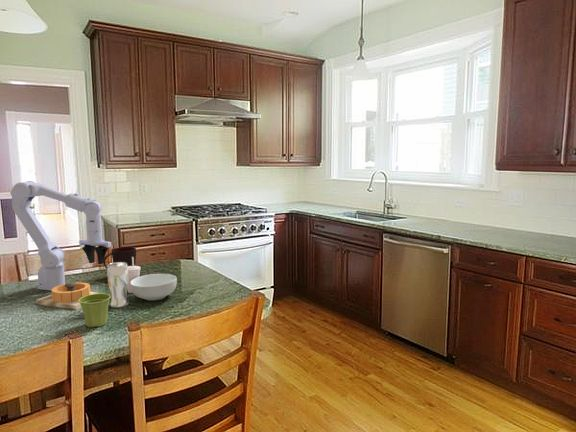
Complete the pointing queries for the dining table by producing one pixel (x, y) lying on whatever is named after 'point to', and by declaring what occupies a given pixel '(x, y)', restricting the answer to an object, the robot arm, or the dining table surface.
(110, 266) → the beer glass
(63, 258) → the robot arm
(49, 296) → the peg board
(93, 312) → the plant pot
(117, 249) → the cup
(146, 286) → the cereal bowl
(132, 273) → the smoothie
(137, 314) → the dining table surface
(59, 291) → the faceted orange ring
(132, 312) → the dining table surface
